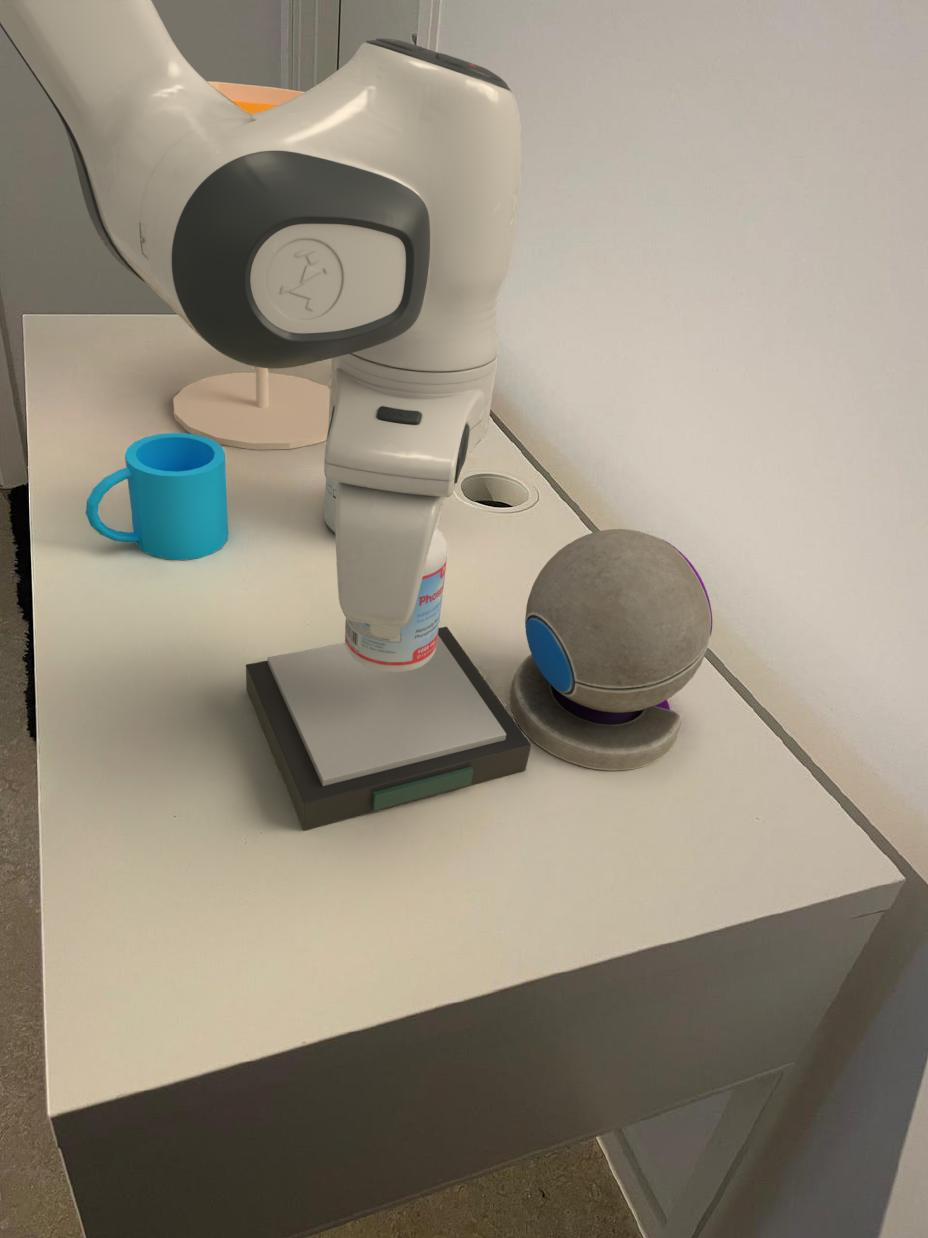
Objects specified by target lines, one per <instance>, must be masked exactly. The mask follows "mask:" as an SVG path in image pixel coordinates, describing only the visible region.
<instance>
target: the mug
mask: <svg viewBox="0 0 928 1238" xmlns="http://www.w3.org/2000/svg"><path fill="white" fill-rule="evenodd" d="M124 460H125V468H124V467H123V468H121V469H118V470H116V471H114V472H112V473H111V474H109V475H107V476H105V477H104V478H103V479H101V480H100V482H98V483H97V484H96V485H95V486H94V487H93V488H92V490H91V492H90V494H89V495H88V497H87V499H86V505H85V516H86V518H87V520H88V523H89V525H90V527H92V529H94V530H95V531H96V532H97V533H98V534H99V536H100V535H101V536H103V537H104V538H107V539H109V540H112V541H115V542H122V543H135V544H136V546H137V547H138V548H139V549H140V550H141V551H142V552H144V553H145V554H148V555H150V556H152V557H154V558H159V559H164V560H169V561H188V560H194V559H201V558H204V557H207V556H210V555H213V554H214V553H215V552H217V551H219V550H221V549H222V548H223V547H224V546H225V545H226V543H227V542H228V540H229V539H228V538H229V516H228V515H229V514H228V513H229V512H228V493H227V492H228V491H227V467H226V466H227V465H226V452H225V450H224V448H223V446H222V445H221V444H218V443H216V442H215V441H213V440H211V439H208V438H206V437H203V436H199V435H194V434H191V433H189V432H188V433H186V432H168V433H167V432H166V433H157V434H153V435H149V436H144V437H143V438H140V439H138V440H136V441H134V442H132V443H131V444H130V445H129V446H128V447H127V448H126V450H125V454H124ZM125 480H127V487H128V495H129V503H130V513H131V521H132V530H133V531H122V530H116V529H114V528H111V527H109V526H107V524H105V522H103V521H102V520H101V517H100V515H99V507H100V503H101V501H102V499H103V497H104V495H105V494H106V493H107V492H109V491H110V490H111V489H112V488H113V487H114V486H116V485H117V484H119V483H121V482H123V481H125Z"/></svg>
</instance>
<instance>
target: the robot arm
mask: <svg viewBox="0 0 928 1238" xmlns="http://www.w3.org/2000/svg"><path fill="white" fill-rule="evenodd" d="M0 28H1V29H2V31H3V32H4V34H5V35H6V37H7V38H8V39H9V41H10V42H11V45H12V46H13V48H14V49H15V50H16V52H17V53H18V54H19V56H20V57H21V59H22V61H23V62H24V63H25V65H26V66H27V68H28V69H29V71H30V72H31V74H32V75H33V77H34V78H35V79H36V81H37V83H38V84H39V86H40V87H41V89H42V91H43V92H44V93H45V95H46V96H47V98H48V100H49V101H50V103H51V105H52V106H53V108H54V110H55V111H56V113H57V114H58V116H59V118H60V121H61V123H62V125H63V128H64V129H65V132H66V135H67V139H68V141H69V145H70V148H71V152H72V155H73V159H74V164H75V168H76V172H77V176H78V181H79V184H80V188H81V193H82V197H83V199H84V204H85V206H86V207H85V208H86V210H87V212H88V215H89V218H90V221H91V223H92V225H93V227H94V229H95V231H96V233H97V235H98V236H99V238H100V240H101V242H102V243H103V245H104V246H105V247H106V249H107V250H108V251H109V253H110V254H111V255H112V256H113V257H114V258H115V260H116V261H117V262H119V264H120V265H122V267H123V268H125V269H126V270H127V271H128V272H130V273H131V274H132V275H134V276H135V277H137V278H138V279H139V280H141V281H142V282H143V283H144V284H146V285H148V286H149V287H150V288H151V289H152V291H153V292H155V293H156V295H158V297H159V298H160V299H161V300H162V301H163V302H164V303H165V304H166V305H167V306H168V307H169V308H170V309H171V310H172V311H173V312H174V313H175V314H177V316H178V317H179V318H180V319H181V320H182V321H183V322H184V323H185V324H186V325H187V326H188V327H189V328H190V329H192V330H193V332H194V333H195V334H196V335H197V336H198V337H200V338H201V339H203V341H205V342H206V343H207V344H209V345H210V346H211V347H212V348H213V349H215V350H216V351H217V352H219V353H221V354H222V355H224V356H226V357H227V358H229V359H230V360H231V359H232V360H234V361H236V362H237V363H240V364H243V365H247V366H251V367H255V368H256V367H261V368H268V369H272V370H273V369H275V370H276V369H288V368H295V367H300V366H304V365H309V364H313V363H317V362H323V361H326V360H330V359H331V358H332V385H331V421H330V425H329V430H328V434H327V440H326V441H325V442H326V443H325V448H324V449H325V450H324V467H323V469H324V470H323V471H324V472H323V473H324V477H325V479H326V478H327V479H328V480H331V481H335V482H338V483H337V490H336V505H335V534H336V535H335V534H334V535H335V556H336V577H337V578H336V579H337V581H336V582H337V596H338V603H339V607H340V609H341V612H342V614H343V616H344V617H345V619H346V618H347V619H348V620H350V621H354V622H359V623H365V624H370V633H371V634H372V635H373V636H375V637H380V638H387V639H395V638H397V637H398V636H399V633H400V628H401V627H405V626H406V625H407V624H408V623H409V621H410V619H411V617H412V614H413V611H414V608H415V604H416V601H417V597H418V593H419V589H420V585H421V581H422V577H423V573H424V569H425V565H426V561H427V557H428V553H429V548H430V544H431V540H432V536H433V532H434V529H435V525H436V522H437V518H438V515H439V511H440V508H441V509H442V505H443V502H444V499H445V498H449V497H451V496H452V495H453V493H454V490H455V485H456V484H458V482H459V478H460V475H461V472H462V469H463V466H464V464H465V462H466V461H467V459H468V458H469V456H470V455H471V454H472V452H473V451H474V449H475V448H476V445H478V444H479V443H480V442H481V441H483V439H484V438H485V437H486V435H487V433H488V430H489V422H490V415H491V408H492V402H493V394H494V389H495V380H496V374H497V367H498V360H499V359H498V358H499V352H500V331H499V326H498V306H499V300H500V297H501V293H502V292H503V291H502V290H503V287H504V285H505V284H506V281H507V280H508V277H509V274H510V271H511V267H512V261H513V255H514V247H515V240H516V234H517V226H518V225H517V224H518V218H519V208H520V198H521V185H522V171H523V170H522V167H523V166H522V165H523V136H522V134H523V133H522V123H521V122H522V121H521V114H520V109H519V104H518V101H517V98H516V96H515V93H514V92H513V91H512V89H510V87H509V85H508V84H507V83H506V81H504V79H502V78H501V76H499V75H497V74H496V73H494V72H493V71H491V70H489V69H487V68H486V67H484V66H480V65H477V64H475V63H472V62H470V61H466V60H464V59H461V58H457V57H455V56H452V55H449V54H446V53H441V52H438V51H434V50H432V49H427V48H425V47H422V46H419V45H416V44H413V43H410V42H406V41H404V40H399V39H394V38H379V37H377V38H376V39H370V40H366V41H365V42H363V43H361V44H360V46H359V47H358V48H357V50H356V52H355V53H354V55H353V56H352V57H351V58H350V59H349V61H348V62H346V63H345V64H344V65H343V66H342V67H340V68H339V69H337V70H336V71H335V72H333V73H332V74H331V75H329V76H327V78H325V79H324V80H322V81H321V82H320V83H318V84H316V85H314V86H313V87H312V88H310V89H308V90H306V91H303V92H304V93H303V94H301V95H299V96H297V97H295V98H293V99H291V100H289V101H287V102H285V103H283V104H281V105H278V106H276V107H273V108H270V109H268V110H265V111H262V112H258V113H255V114H250V113H248V112H246V111H244V110H243V109H241V108H240V107H239V106H237V105H236V104H235V103H234V102H232V101H231V100H230V99H228V98H227V97H226V96H224V95H223V94H222V93H221V92H219V91H218V90H217V89H215V88H214V87H213V86H211V85H210V84H209V83H208V82H209V81H208V82H207V80H206V79H205V78H204V77H202V76H201V74H199V73H198V72H197V71H196V69H194V67H193V66H192V65H191V64H190V63H189V62H188V60H186V58H185V57H184V56H183V54H182V53H181V52H180V50H179V49H178V47H177V45H176V44H175V42H174V41H173V39H172V37H171V36H170V34H169V31H168V30H167V27H166V26H165V24H164V22H163V21H162V19H161V16H160V15H159V12H158V11H157V9H156V7H155V5H154V3H153V1H152V0H0ZM440 512H441V511H440Z"/></svg>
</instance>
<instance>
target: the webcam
mask: <svg viewBox="0 0 928 1238" xmlns="http://www.w3.org/2000/svg"><path fill="white" fill-rule="evenodd" d="M712 611H713V610H712V606H711V600H710V598H709V594H708V591H707V588H706V585H705V583H704V581H703V579H702V577H701V576H700V574H699V572H698V571H697V569H696V568H695V567H694V564H692V561H690V560H689V559H688V557H687V556H685V554H683V553H682V552H681V551H680V550H679V549H677V547H675V546H674V545H672V544H671V543H670V542H668V541H666V540H664V539H662V538H659V537H657V536H654V535H651V534H648V533H645V532H644V531H640V530H633V529H624V528H615V529H614V528H613V529H611V528H610V529H605V530H598V531H594V532H592V533H588V534H585V535H582V536H580V537H579V538H576V539H575V540H573V541H571V542H570V543H568V544H566V545H565V546H563V547H562V548H561V549H559V550H558V551H556V553H554V555H552V557H551V558H549V560H548V561H547V562H546V563H545V565H544V566H543V567H542V569H541V570H540V571H539V573H538V574H537V577H536V578H535V580H534V582H533V584H532V587H531V590H530V591H529V595H528V598H527V602H526V609H525V618H524V628H525V636H526V641H527V645H528V649H529V651H530V654H529V655H528V656H527V657H526V658H525V659H524V660H523V661H522V662H521V663H520V664H519V666H518V668H517V670H516V671H515V674H514V677H513V680H512V683H511V688H510V693H509V703H510V709H511V712H512V714H513V717H514V719H515V721H516V724H518V727H520V730H521V731H522V732H523V733H524V734H525V735H526V736H527V737H528V738H529V739H530V740H532V741H533V742H534V743H535V744H536V745H537V746H539V747H540V748H542V749H543V750H544V751H546V752H547V753H549V754H551V755H553V756H555V757H557V758H559V759H562V760H564V761H566V762H568V763H570V764H571V763H572V764H574V765H577V766H580V767H585V768H587V769H594V770H602V771H624V770H625V771H626V770H634V769H637V768H643V767H645V766H648V765H651V764H654V763H655V762H657V761H659V760H660V759H661V758H663V757H664V756H665V755H667V754H668V753H669V751H670V750H671V749H672V748H673V746H674V744H675V743H676V741H677V738H678V735H679V733H680V728H681V725H682V720H683V719H682V714H681V713H680V712H677V711H675V710H671V708H670V704H669V701H668V700H669V699H671V698H672V697H673V696H674V695H675V694H677V693H679V692H680V691H681V690H682V689H683V688H684V687H686V685H687V684H688V683H689V682H690V681H691V680H692V679H693V678H694V676H695V674H696V673H697V671H698V670H699V668H700V667H701V664H702V663H703V660H704V658H705V656H706V653H707V649H708V646H709V643H710V638H711V636H712V631H713V612H712Z"/></svg>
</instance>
